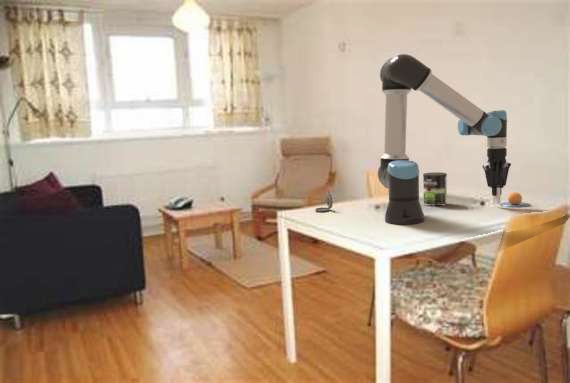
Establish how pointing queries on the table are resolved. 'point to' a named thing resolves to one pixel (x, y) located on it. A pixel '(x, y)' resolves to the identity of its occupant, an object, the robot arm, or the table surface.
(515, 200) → the ball
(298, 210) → the table surface
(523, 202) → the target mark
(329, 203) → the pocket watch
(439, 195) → the coffee can
